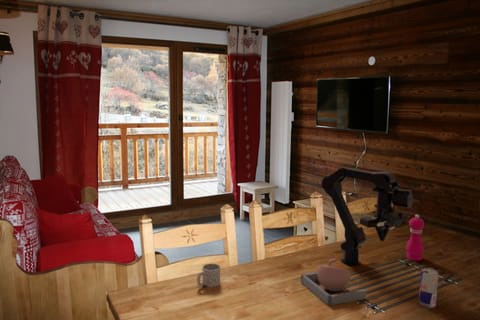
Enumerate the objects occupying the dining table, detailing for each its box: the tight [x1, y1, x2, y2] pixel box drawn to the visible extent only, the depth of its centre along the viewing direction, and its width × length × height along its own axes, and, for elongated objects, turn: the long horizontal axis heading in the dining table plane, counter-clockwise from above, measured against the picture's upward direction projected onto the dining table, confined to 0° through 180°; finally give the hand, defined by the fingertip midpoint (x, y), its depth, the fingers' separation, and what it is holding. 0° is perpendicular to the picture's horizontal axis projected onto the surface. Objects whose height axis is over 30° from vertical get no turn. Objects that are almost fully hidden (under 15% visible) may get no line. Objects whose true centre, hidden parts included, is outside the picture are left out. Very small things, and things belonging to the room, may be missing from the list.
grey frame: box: [300, 271, 367, 306], centre depth 151 cm, size 19×15×3 cm
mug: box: [196, 263, 221, 288], centre depth 154 cm, size 10×7×7 cm, turn 135°
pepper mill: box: [405, 214, 425, 262], centre depth 181 cm, size 7×7×20 cm
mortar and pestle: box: [316, 258, 352, 292], centre depth 150 cm, size 12×12×12 cm
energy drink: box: [418, 267, 439, 309], centre depth 140 cm, size 5×5×12 cm
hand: (382, 241), depth 166 cm, fingers closed
